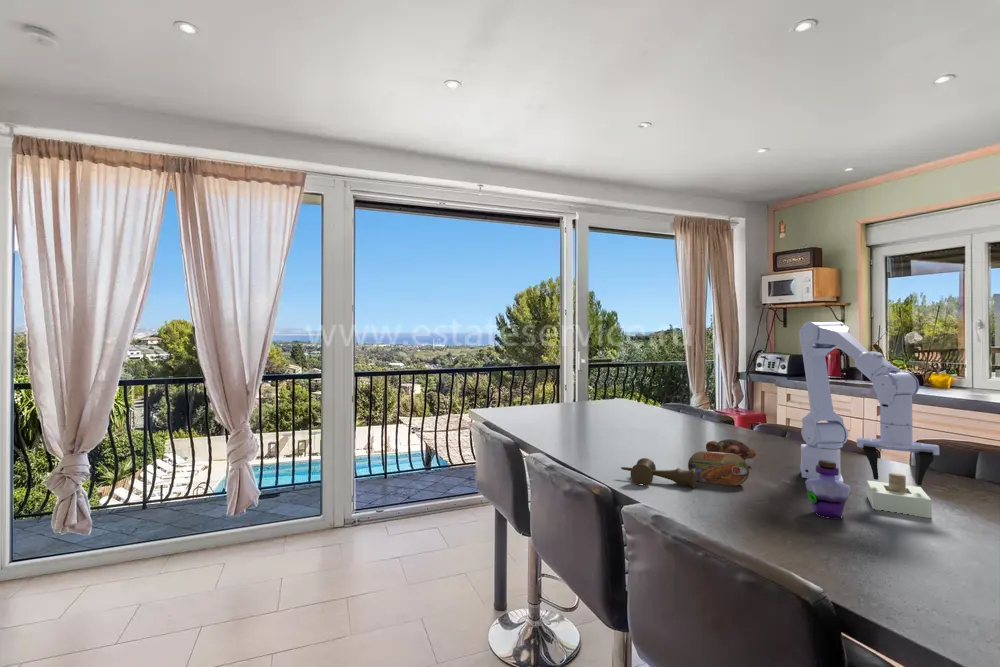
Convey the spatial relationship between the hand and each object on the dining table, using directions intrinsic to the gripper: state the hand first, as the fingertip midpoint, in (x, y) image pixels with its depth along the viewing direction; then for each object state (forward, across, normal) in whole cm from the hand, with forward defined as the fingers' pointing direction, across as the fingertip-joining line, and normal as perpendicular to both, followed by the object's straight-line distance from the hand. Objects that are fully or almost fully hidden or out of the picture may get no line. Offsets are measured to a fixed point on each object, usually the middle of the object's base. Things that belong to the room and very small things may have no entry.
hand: (896, 481), depth 107 cm
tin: (+6, -38, -2) cm, 39 cm away
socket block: (+6, 0, 0) cm, 6 cm away
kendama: (+6, -52, -10) cm, 54 cm away
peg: (+6, 0, 0) cm, 6 cm away
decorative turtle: (+6, -37, +18) cm, 41 cm away
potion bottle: (+6, -14, -14) cm, 21 cm away
